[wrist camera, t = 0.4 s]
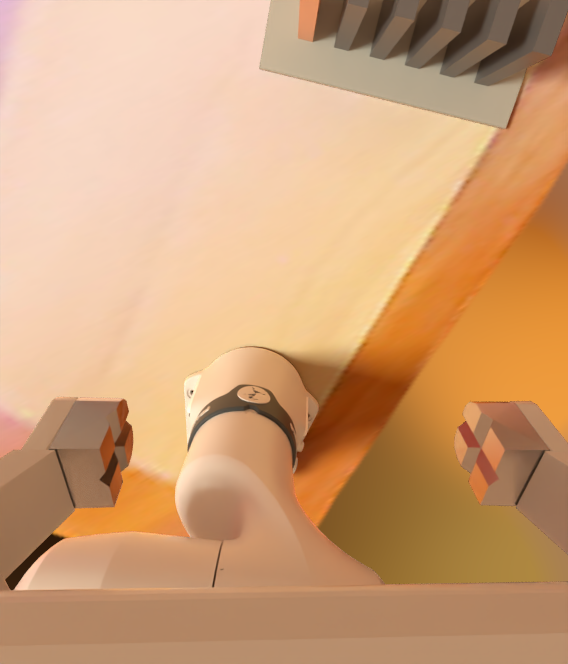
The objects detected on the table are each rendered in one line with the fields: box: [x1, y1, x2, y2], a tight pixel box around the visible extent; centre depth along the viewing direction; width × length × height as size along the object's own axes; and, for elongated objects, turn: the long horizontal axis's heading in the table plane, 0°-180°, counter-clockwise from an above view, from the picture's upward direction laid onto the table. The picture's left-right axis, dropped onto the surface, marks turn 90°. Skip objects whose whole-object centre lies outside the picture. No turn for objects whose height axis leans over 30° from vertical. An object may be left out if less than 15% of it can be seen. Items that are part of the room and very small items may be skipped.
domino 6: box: [474, 0, 568, 86], centre depth 40 cm, size 5×2×12 cm, turn 168°
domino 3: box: [369, 0, 420, 60], centre depth 39 cm, size 5×2×12 cm, turn 168°
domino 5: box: [439, 0, 521, 78], centre depth 40 cm, size 5×2×12 cm, turn 168°
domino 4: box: [405, 0, 470, 69], centre depth 40 cm, size 5×2×12 cm, turn 168°
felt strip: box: [259, 0, 529, 129], centre depth 45 cm, size 12×28×1 cm, turn 78°
